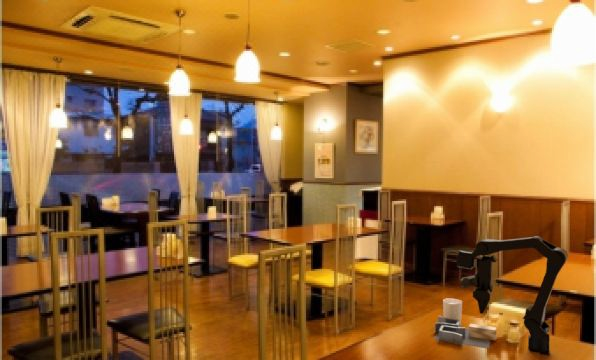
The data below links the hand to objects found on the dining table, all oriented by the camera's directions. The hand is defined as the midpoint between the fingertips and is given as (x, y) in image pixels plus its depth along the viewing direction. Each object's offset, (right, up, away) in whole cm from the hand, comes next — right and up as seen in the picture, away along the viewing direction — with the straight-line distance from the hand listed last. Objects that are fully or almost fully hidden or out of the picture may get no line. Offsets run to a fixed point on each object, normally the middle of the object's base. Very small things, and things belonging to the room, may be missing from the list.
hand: (482, 309), depth 182 cm
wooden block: (0, -11, 0) cm, 11 cm away
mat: (-7, -11, +1) cm, 13 cm away
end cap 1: (-11, -11, +7) cm, 17 cm away
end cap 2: (-13, -11, -2) cm, 17 cm away
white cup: (-6, -11, +16) cm, 21 cm away
